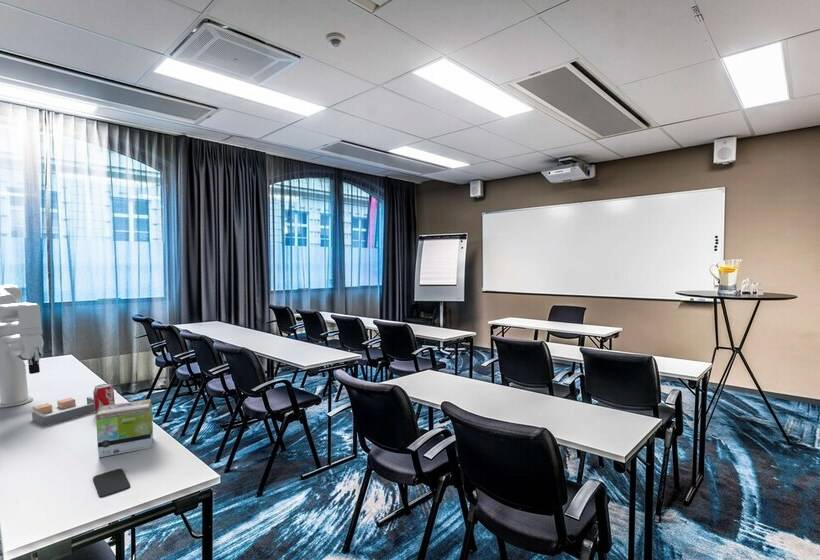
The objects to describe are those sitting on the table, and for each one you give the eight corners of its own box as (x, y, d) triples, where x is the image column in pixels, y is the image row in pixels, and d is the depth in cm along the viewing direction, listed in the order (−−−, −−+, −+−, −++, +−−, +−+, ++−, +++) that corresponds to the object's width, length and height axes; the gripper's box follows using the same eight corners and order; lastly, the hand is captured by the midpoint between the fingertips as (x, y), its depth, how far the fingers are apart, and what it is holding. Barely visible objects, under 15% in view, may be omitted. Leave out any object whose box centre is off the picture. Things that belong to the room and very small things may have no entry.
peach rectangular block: (57, 407, 190) (57, 400, 190) (71, 403, 194) (70, 397, 194) (61, 409, 187) (61, 402, 187) (75, 405, 191) (75, 399, 191)
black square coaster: (99, 497, 115) (92, 476, 126) (99, 500, 115) (92, 479, 126) (131, 486, 120) (121, 467, 131) (131, 489, 120) (122, 470, 131)
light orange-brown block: (33, 413, 183) (33, 406, 183) (48, 409, 187) (47, 403, 187) (37, 415, 180) (37, 408, 180) (52, 411, 184) (51, 405, 184)
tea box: (98, 459, 138) (94, 415, 137) (103, 447, 147) (100, 405, 146) (151, 448, 145) (148, 406, 144) (154, 437, 154) (151, 397, 153)
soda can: (104, 417, 176) (102, 388, 175) (90, 416, 177) (88, 388, 176) (119, 410, 183) (117, 383, 182) (105, 410, 184) (103, 382, 183)
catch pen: (32, 420, 175) (31, 411, 174) (90, 404, 192) (89, 396, 192) (45, 425, 168) (44, 417, 168) (103, 409, 185) (102, 401, 185)
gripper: (13, 332, 186) (17, 373, 187) (25, 334, 179) (30, 377, 180) (34, 329, 193) (38, 369, 194) (48, 331, 185) (52, 372, 186)
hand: (34, 372), depth 187 cm, fingers closed
